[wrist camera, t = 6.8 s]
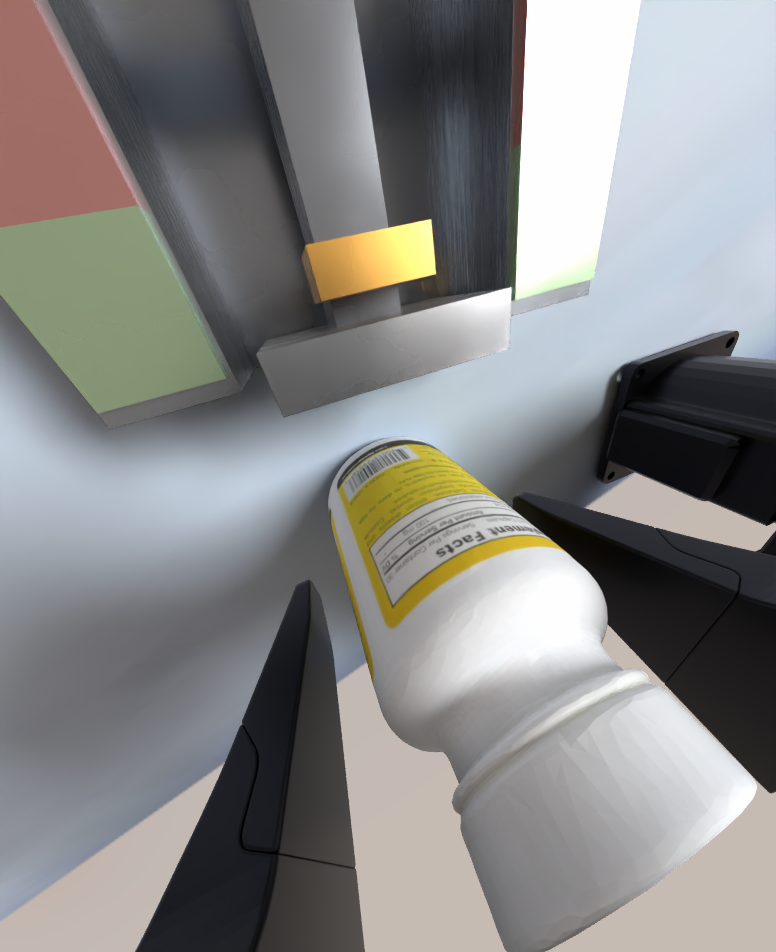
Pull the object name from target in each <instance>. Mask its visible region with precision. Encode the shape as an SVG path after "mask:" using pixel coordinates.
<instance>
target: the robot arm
mask: <svg viewBox="0 0 776 952" xmlns="http://www.w3.org/2000/svg"><path fill="white" fill-rule="evenodd" d="M738 337H739V332H738V331H722V332H719V333H716V334H713V335H710V336H707V337H704V338H701V339H698V340H695V341H693V342H690V343H687V344H684V345H681V346H678V347H675V348H672V349H669V350H666V351H663V352H660V353H658V354H655V355H652V356H649V357H646V358H643V359H640V360H637V361H634V362H632V363H631V364H629V365H628V366H627V368H626V369H625V371H624V373H623V375H622V379H621V383H620V387H619V391H618V395H617V399H616V403H615V407H614V411H613V414H612V418H611V422H610V426H609V430H608V434H607V438H606V442H605V446H604V450H603V454H602V458H601V462H600V466H599V470H598V474H597V479H598V480H600V481H601V482H603V483H606V484H607V483H610V482H613V481H615V480H617V479H620V478H622V477H624V476H627V475H629V474H631V473H634V472H635V473H638V474H640V475H642V476H645V477H647V478H649V479H652V480H654V481H657V482H659V483H661V484H663V485H665V486H668V487H670V488H672V489H675V490H677V491H679V492H682V493H684V494H686V495H688V496H691V497H693V498H695V499H698V500H701V501H709V502H712V503H714V504H716V505H719V506H721V507H724V508H726V509H728V510H731V511H733V512H735V513H738V514H740V515H742V516H744V517H747V518H749V519H752V520H754V521H756V522H759V523H761V524H763V525H766V526H768V525H770V524H772V523H776V360H768V359H756V358H743V357H731V354H732V351H733V349H734V347H735V345H736V342H737V340H738ZM512 509H513V510H515V511H516V512H517V513H518V514H519V515H521V516H522V517H523V518H524V519H526V520H527V521H528V522H529V523H530V524H532V525H533V526H534V527H536V528H537V529H538V530H539V531H541V532H542V533H543V534H544V535H546V536H547V537H548V538H550V539H551V540H552V541H553V542H555V543H556V544H557V545H558V546H559V547H561V548H562V549H563V550H564V551H566V552H567V553H568V554H569V555H570V556H571V557H572V558H573V559H574V560H576V561H577V562H578V563H579V564H580V565H581V566H582V567H584V568H585V569H586V570H587V571H588V572H589V573H590V574H591V576H592V577H593V578H594V579H595V581H596V582H597V583H598V585H599V587H600V589H601V590H602V593H603V595H604V598H605V601H606V605H607V614H608V621H607V624H608V625H609V626H610V627H611V628H612V629H613V630H614V631H615V632H616V633H617V634H618V636H619V637H620V638H622V640H623V641H624V642H625V643H626V644H627V645H628V646H629V647H630V648H631V649H632V650H633V651H634V652H635V653H636V654H637V655H638V656H639V658H640V659H641V660H643V662H644V663H645V664H646V665H647V666H648V667H649V668H650V669H651V670H652V671H653V672H654V673H655V674H656V675H657V676H658V677H659V678H660V680H661V681H662V682H664V683H665V685H666V686H667V687H668V688H669V689H670V690H671V691H672V692H673V693H674V694H675V695H676V697H677V698H678V699H679V700H680V701H681V702H682V703H683V704H684V705H685V706H686V707H687V708H688V709H689V710H690V711H691V712H692V713H693V714H694V715H695V717H696V718H697V719H699V721H700V722H701V723H702V724H703V725H704V726H705V727H706V728H707V729H708V730H709V731H710V732H711V733H712V734H713V735H714V736H715V737H716V738H717V739H718V740H719V742H720V743H721V744H722V745H723V746H724V747H725V748H726V749H727V750H728V751H729V752H730V753H731V754H732V755H733V756H734V757H735V758H736V759H737V760H738V762H739V763H741V765H742V766H743V767H744V768H745V769H746V770H747V771H748V772H749V773H750V774H751V775H752V776H753V777H754V778H755V779H756V780H757V781H758V782H759V783H760V784H761V785H762V786H763V787H764V788H765V789H766V790H767V791H768V792H769V793H774V792H776V531H775V532H774V533H773V535H772V536H771V537H770V538H769V540H768V541H767V542H766V543H765V545H764V546H763V547H762V548H761V549H760V550H758V551H756V552H754V551H750V550H745V549H741V548H736V547H732V546H727V545H723V544H719V543H714V542H710V541H706V540H701V539H697V538H693V537H690V536H686V535H681V534H678V533H674V532H670V531H666V530H663V529H659V528H654V527H652V526H648V525H644V524H641V523H636V522H633V521H629V520H626V519H622V518H618V517H615V516H611V515H608V514H604V513H600V512H596V511H593V510H589V509H586V508H582V507H578V506H574V505H571V504H567V503H563V502H560V501H556V500H552V499H549V498H545V497H541V496H538V495H534V494H530V493H526V492H524V493H521V494H518V495H516V496H514V498H513V505H512ZM242 724H243V725H241V726H240V727H239V730H238V732H237V735H236V737H235V740H234V742H233V745H232V747H231V749H230V752H229V754H228V757H227V759H226V761H225V764H224V766H223V768H222V771H221V773H220V776H219V778H218V780H217V782H216V784H215V787H214V789H213V791H212V793H211V796H210V797H209V800H208V802H207V804H206V806H205V808H204V810H203V813H202V815H201V817H200V819H199V821H198V823H197V825H196V827H195V830H194V832H193V834H192V836H191V838H190V840H189V842H188V844H187V846H186V848H185V851H184V853H183V855H182V857H181V859H180V861H179V863H178V865H177V867H176V869H175V871H174V873H173V875H172V878H171V880H170V882H169V884H168V886H167V888H166V890H165V892H164V894H163V896H162V899H161V901H160V903H159V905H158V907H157V909H156V911H155V913H154V915H153V917H152V919H151V922H150V923H149V925H148V928H147V929H146V931H145V933H144V935H143V938H142V939H141V941H140V943H139V945H138V947H137V949H136V951H135V952H365V949H364V940H363V931H362V922H361V912H360V904H359V903H360V902H359V893H358V883H357V875H356V869H355V856H354V846H353V837H352V828H351V818H350V809H349V799H348V790H347V781H346V771H345V761H344V752H343V742H342V733H341V725H340V714H339V705H338V695H337V686H336V676H335V667H334V658H333V650H332V645H331V640H330V636H329V631H328V627H327V623H326V618H325V614H324V609H323V605H322V601H321V597H320V595H319V593H318V591H317V590H316V588H315V586H314V584H313V583H312V581H311V580H307V581H304V582H302V583H300V584H298V585H297V586H296V588H295V590H294V593H293V595H292V598H291V600H290V603H289V605H288V608H287V610H286V613H285V615H284V618H283V620H282V623H281V625H280V628H279V630H278V633H277V635H276V638H275V640H274V643H273V645H272V648H271V650H270V653H269V655H268V658H267V660H266V663H265V665H264V668H263V670H262V673H261V675H260V678H259V680H258V683H257V685H256V688H255V690H254V693H253V695H252V698H251V700H250V703H249V705H248V708H247V710H246V713H245V715H244V718H243V720H242Z"/></svg>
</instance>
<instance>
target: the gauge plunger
mask: <svg viewBox="0 0 776 952" xmlns="http://www.w3.org/2000/svg"><path fill="white" fill-rule="evenodd" d="M236 1H237V5H238V8H239V12H240V15H241V19H242V22H243V26H244V29H245V33H246V36H247V40H248V43H249V47H250V51H251V54H252V58H253V61H254V65H255V68H256V72H257V75H258V79H259V82H260V86H261V89H262V93H263V96H264V100H265V103H266V107H267V110H268V114H269V117H270V121H271V124H272V128H273V131H274V135H275V138H276V142H277V145H278V149H279V152H280V156H281V159H282V163H283V166H284V170H285V173H286V177H287V180H288V184H289V188H290V191H291V195H292V198H293V202H294V205H295V209H296V212H297V216H298V219H299V223H300V226H301V230H302V233H303V237H304V240H305V244H306V245H305V248H304V252H303V255H302V258H301V259H302V263H303V266H304V270H305V273H306V276H307V280H308V283H309V286H310V290H311V293H312V296H313V300H314V303H315V304H319V303H323V307H324V310H325V314H326V318H327V321H328V325H324V326H320V327H316V328H312V329H308V330H304V331H300V332H296V333H292V334H288V335H285V336H281V337H277V338H273V339H269V340H267V341H266V342H265V343H264V344H263V346H262V347H261V348H260V350H259V351H258V352H257V354H256V355H257V357H258V360H259V362H260V364H261V367H262V369H263V371H264V373H265V376H266V378H267V380H268V383H269V385H270V387H271V390H272V392H273V394H274V397H275V399H276V401H277V403H278V406H279V408H280V410H281V413H282V415H283V417H287V416H290V415H293V414H297V413H300V412H303V411H306V410H310V409H313V408H316V407H320V406H323V405H326V404H329V403H333V402H336V401H339V400H343V399H346V398H349V397H352V396H356V395H359V394H362V393H366V392H369V391H372V390H375V389H379V388H382V387H385V386H389V385H392V384H395V383H398V382H402V381H405V380H408V379H412V378H415V377H418V376H421V375H425V374H428V373H431V372H435V371H438V370H441V369H444V368H448V367H451V366H454V365H458V364H461V363H464V362H467V361H471V360H474V359H477V358H481V357H484V356H487V355H490V354H494V353H497V352H500V351H504V350H507V349H509V344H510V315H511V287H510V288H502V289H495V290H488V291H481V292H474V293H467V294H460V295H453V296H446V297H439V298H432V299H426V300H422V301H418V302H414V303H410V304H406V305H402V306H400V299H399V293H398V286H397V285H398V284H402V283H406V282H410V281H414V280H417V279H420V278H424V277H427V276H430V275H434V274H436V270H435V259H434V247H433V236H432V225H431V219H430V220H425V221H420V222H415V223H411V224H406V225H401V226H396V227H391V228H388V221H387V215H386V208H385V202H384V195H383V188H382V182H381V175H380V169H379V162H378V156H377V149H376V143H375V136H374V130H373V123H372V117H371V110H370V104H369V97H368V91H367V84H366V78H365V71H364V65H363V58H362V52H361V45H360V38H359V32H358V25H357V19H356V12H355V6H354V0H236Z"/></svg>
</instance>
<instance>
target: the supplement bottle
mask: <svg viewBox="0 0 776 952" xmlns="http://www.w3.org/2000/svg"><path fill="white" fill-rule="evenodd" d="M328 510H329V516H330V522H331V526H332V530H333V534H334V538H335V542H336V546H337V549H338V553H339V557H340V560H341V564H342V568H343V572H344V576H345V580H346V583H347V587H348V591H349V595H350V599H351V602H352V606H353V610H354V614H355V618H356V621H357V625H358V629H359V633H360V637H361V641H362V644H363V648H364V652H365V656H366V660H367V664H368V668H369V671H370V675H371V679H372V682H373V686H374V689H375V692H376V695H377V698H378V701H379V705H380V708H381V711H382V713H383V716H384V718H385V720H386V721H387V723H388V725H389V726H390V728H391V729H392V730H393V732H394V733H395V734H396V735H397V736H398V737H399V738H400V739H401V740H403V741H404V742H405V743H407V744H408V745H410V746H412V747H415V748H417V749H419V750H423V751H428V752H444V753H445V754H446V755H447V757H448V759H449V761H450V763H451V765H452V768H453V770H454V772H455V775H456V777H457V780H458V782H459V785H458V787H457V788H456V790H455V792H454V795H453V801H452V804H453V807H454V810H455V811H456V812H457V813H459V814H460V815H461V832H462V836H463V839H464V841H465V844H466V846H467V849H468V851H469V854H470V857H471V859H472V862H473V865H474V868H475V871H476V873H477V876H478V879H479V882H480V884H481V887H482V890H483V892H484V895H485V898H486V900H487V903H488V905H489V908H490V911H491V914H492V916H493V919H494V922H495V925H496V928H497V930H498V933H499V935H500V938H501V941H502V943H503V946H504V948H505V950H506V951H507V952H545V951H547V950H550V949H552V948H553V947H555V946H557V945H559V944H561V943H562V942H564V941H566V940H568V939H570V938H572V937H573V936H575V935H577V934H579V933H580V932H582V931H584V930H585V929H587V928H588V927H590V926H591V925H593V924H595V923H597V922H598V921H600V920H601V919H603V918H605V917H606V916H608V915H609V914H611V913H613V912H614V911H616V910H617V909H619V908H620V907H622V906H624V905H625V904H627V903H628V902H630V901H631V900H633V899H634V898H636V897H637V896H639V895H641V894H642V893H644V892H645V891H647V890H648V889H650V888H651V887H652V886H654V885H655V884H657V883H658V882H659V881H660V880H662V879H663V878H665V877H666V876H667V875H668V874H670V873H671V872H672V871H674V870H675V869H676V868H678V867H679V866H680V865H681V864H683V863H684V862H685V861H686V860H688V859H689V858H690V857H692V856H693V855H694V854H695V853H696V852H697V851H699V850H700V849H701V848H702V847H704V846H705V845H706V844H707V843H708V842H710V841H711V840H712V839H713V838H714V837H716V836H717V835H718V834H719V833H720V832H721V831H722V830H723V829H724V828H725V827H727V826H728V825H729V824H730V823H731V822H732V821H733V820H734V819H735V818H737V817H738V816H739V815H740V814H741V813H742V812H743V810H744V809H745V807H747V805H748V804H749V803H750V802H751V800H752V799H753V797H754V795H755V793H756V789H757V785H756V783H755V781H754V779H753V778H752V776H751V775H750V774H749V773H748V772H747V771H746V770H745V769H744V768H743V767H742V766H741V765H740V764H739V763H738V762H737V761H736V760H735V759H734V758H733V757H732V756H731V755H730V754H729V753H728V752H727V751H726V750H725V749H724V748H723V747H722V746H721V745H720V744H719V743H718V742H717V741H716V740H715V739H714V738H713V737H712V736H711V735H709V733H708V732H707V731H706V730H705V729H704V728H702V726H701V725H700V724H699V723H698V722H697V721H696V720H695V719H694V718H693V717H692V716H691V715H690V714H689V713H688V712H687V711H686V710H685V709H684V708H683V707H682V706H681V705H680V704H679V703H678V702H677V701H676V700H675V699H674V698H673V697H672V696H671V695H670V694H669V693H668V692H667V691H666V690H665V689H663V688H661V687H658V686H656V685H653V684H650V680H649V677H648V676H647V674H646V673H645V672H643V671H641V670H639V669H626V670H623V669H622V668H621V667H620V666H618V665H617V664H616V663H615V662H614V661H613V660H612V659H611V658H610V657H609V655H608V654H607V653H606V651H605V650H604V648H603V646H602V644H601V643H602V641H603V639H604V636H605V633H606V629H607V621H608V614H607V605H606V601H605V598H604V595H603V593H602V590H601V589H600V587H599V585H598V583H597V582H596V581H595V579H594V578H593V577H592V576H591V574H590V573H589V572H588V571H587V570H586V569H585V568H584V567H582V566H581V565H580V564H579V563H578V562H577V561H576V560H574V559H573V558H572V557H571V556H570V555H569V554H568V553H567V552H566V551H564V550H563V549H562V548H561V547H559V546H558V545H557V544H556V543H555V542H553V541H552V540H551V539H550V538H548V537H547V536H546V535H544V534H543V533H542V532H541V531H539V530H538V529H537V528H536V527H534V526H533V525H532V524H530V523H529V522H528V521H527V520H526V519H524V518H523V517H522V516H521V515H519V514H518V513H517V512H516V511H515V510H513V509H512V508H511V507H510V506H508V505H507V504H506V503H505V502H504V501H502V500H501V499H500V498H499V497H497V496H496V495H495V494H494V493H492V492H491V491H490V490H489V489H487V488H486V487H485V486H484V485H482V484H481V483H480V482H479V481H477V480H476V479H475V478H474V477H472V476H471V475H470V474H469V473H467V472H466V471H465V470H464V469H462V468H461V467H460V466H459V465H457V464H456V463H455V462H454V461H452V460H451V459H450V458H449V457H447V456H446V455H445V454H443V453H442V452H441V451H440V450H438V449H437V448H435V447H434V446H432V445H431V444H429V443H427V442H425V441H422V440H419V439H415V438H410V437H391V438H386V439H382V440H379V441H376V442H373V443H371V444H369V445H367V446H365V447H364V448H362V449H361V450H359V451H358V452H356V453H355V454H353V455H352V456H351V457H350V458H349V459H348V460H347V461H346V462H345V463H344V465H343V466H342V467H341V469H340V470H339V472H338V473H337V475H336V477H335V479H334V481H333V483H332V486H331V489H330V493H329V499H328Z"/></svg>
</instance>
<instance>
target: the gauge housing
mask: <svg viewBox="0 0 776 952" xmlns="http://www.w3.org/2000/svg"><path fill="white" fill-rule="evenodd" d="M354 6H355V12H356V19H357V25H358V32H359V38H360V45H361V52H362V58H363V65H364V71H365V78H366V84H367V91H368V97H369V104H370V110H371V117H372V123H373V130H374V136H375V143H376V149H377V156H378V162H379V169H380V175H381V182H382V188H383V195H384V202H385V208H386V215H387V221H388V228H391V227H396V226H401V225H406V224H411V223H415V222H420V221H425V220H430V219H431V225H432V236H433V247H434V259H435V270H436V274H434V275H430V276H427V277H424V278H420V279H417V280H414V281H410V282H406V283H402V284H398V285H397V286H398V293H399V299H400V306H402V305H406V304H410V303H414V302H418V301H422V300H426V299H432V298H439V297H446V296H453V295H460V294H467V293H474V292H481V291H488V290H495V289H502V288H510V287H511V315H510V316H514V315H517V314H521V313H524V312H528V311H531V310H535V309H538V308H542V307H546V306H549V305H553V304H556V303H560V302H563V301H567V300H570V299H574V298H577V297H581V296H584V295H588V292H589V286H590V280H591V279H594V275H595V269H596V263H597V257H598V251H599V245H600V239H601V233H602V227H603V221H604V215H605V209H606V203H607V197H608V191H609V185H610V179H611V173H612V167H613V161H614V155H615V149H616V143H617V137H618V131H619V125H620V119H621V113H622V107H623V101H624V95H625V89H626V83H627V77H628V71H629V66H630V60H631V54H632V48H633V42H634V36H635V30H636V24H637V18H638V12H639V6H640V0H354ZM305 245H306V244H305V240H304V237H303V233H302V230H301V226H300V223H299V219H298V216H297V212H296V209H295V205H294V202H293V198H292V195H291V191H290V188H289V184H288V180H287V177H286V173H285V170H284V166H283V163H282V159H281V156H280V152H279V149H278V145H277V142H276V138H275V135H274V131H273V128H272V124H271V121H270V117H269V114H268V110H267V107H266V103H265V100H264V96H263V93H262V89H261V86H260V82H259V79H258V75H257V72H256V68H255V65H254V61H253V58H252V54H251V51H250V47H249V43H248V40H247V36H246V33H245V29H244V26H243V22H242V19H241V15H240V12H239V8H238V5H237V1H236V0H0V296H1V297H2V298H3V299H4V301H5V302H6V303H7V304H8V306H9V307H10V308H11V309H12V310H13V312H14V313H15V314H16V315H17V317H18V318H19V319H20V320H21V321H22V323H23V324H24V325H25V326H26V328H27V329H28V330H29V331H30V332H31V334H32V335H33V336H34V337H35V339H36V340H37V341H38V342H39V343H40V345H41V346H42V347H43V348H44V350H45V351H46V352H47V353H48V354H49V356H50V357H51V358H52V359H53V361H54V362H55V363H56V364H57V365H58V367H59V368H60V369H61V370H62V371H63V373H64V374H65V375H66V376H67V378H68V379H69V380H70V381H71V382H72V384H73V385H74V386H75V387H76V389H77V390H78V391H79V392H80V393H81V395H82V396H83V397H84V398H85V400H86V401H87V402H88V403H89V404H90V406H91V407H92V408H93V409H94V411H95V412H96V413H97V414H98V415H99V417H100V418H101V419H102V420H103V422H104V423H105V424H106V425H107V426H108V428H109V429H113V428H117V427H120V426H124V425H127V424H131V423H134V422H138V421H141V420H145V419H149V418H152V417H156V416H159V415H163V414H166V413H170V412H173V411H177V410H180V409H184V408H188V407H191V406H195V405H198V404H202V403H205V402H209V401H212V400H216V399H219V398H223V397H227V396H230V395H234V394H237V393H241V392H242V391H243V389H244V387H245V386H246V384H247V382H248V380H249V379H250V377H251V375H252V373H253V371H254V370H255V368H258V367H261V364H260V362H259V360H258V357H257V355H256V354H257V352H258V351H259V350H260V348H261V347H262V346H263V344H264V343H265V342H266V341H267V340H269V339H273V338H277V337H281V336H285V335H288V334H292V333H296V332H300V331H304V330H308V329H312V328H316V327H320V326H324V325H328V321H327V318H326V314H325V310H324V307H323V303H319V304H315V303H314V300H313V296H312V293H311V290H310V286H309V283H308V280H307V276H306V273H305V270H304V266H303V263H302V259H301V258H302V255H303V252H304V248H305Z"/></svg>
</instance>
